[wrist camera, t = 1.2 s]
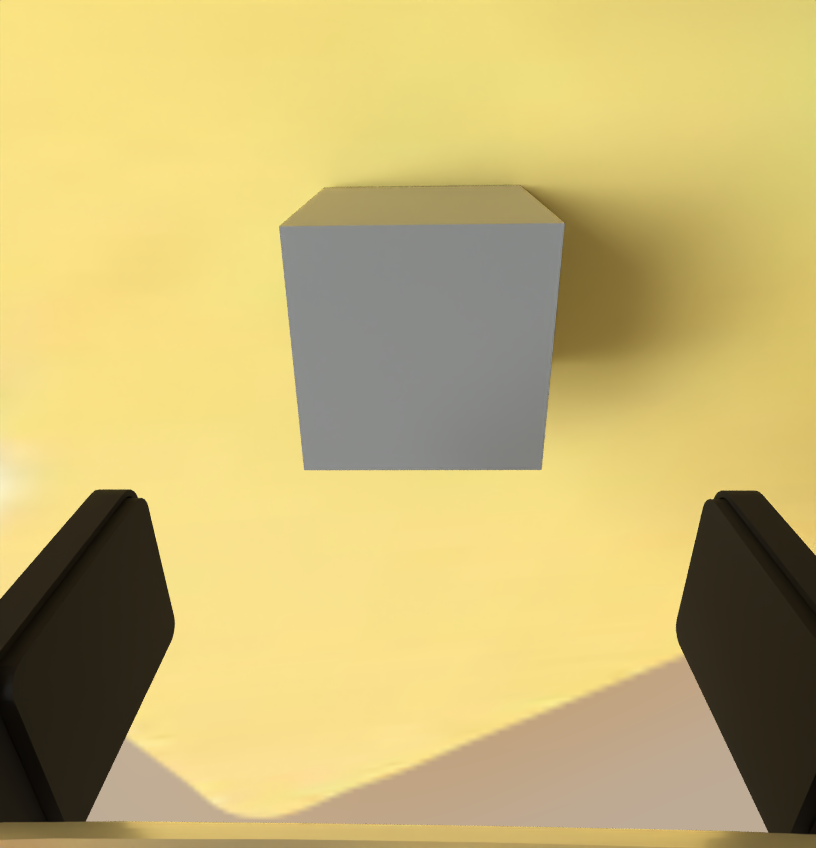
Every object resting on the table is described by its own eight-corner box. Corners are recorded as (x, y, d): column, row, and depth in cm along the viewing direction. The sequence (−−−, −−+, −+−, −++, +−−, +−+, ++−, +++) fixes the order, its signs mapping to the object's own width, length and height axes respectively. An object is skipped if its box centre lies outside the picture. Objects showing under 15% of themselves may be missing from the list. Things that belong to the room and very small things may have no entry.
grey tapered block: (324, 187, 25) (279, 226, 17) (519, 185, 25) (564, 222, 17) (336, 368, 28) (304, 469, 21) (508, 368, 28) (541, 469, 20)
